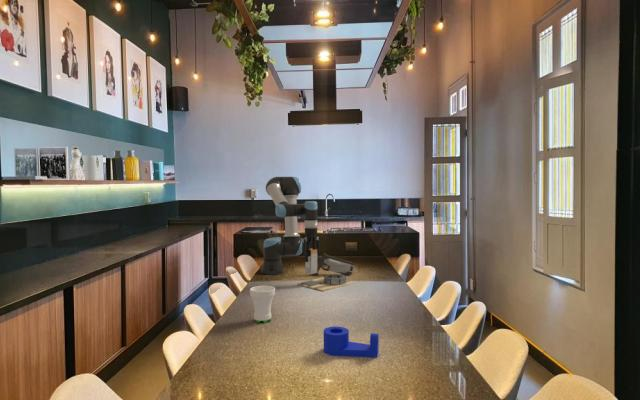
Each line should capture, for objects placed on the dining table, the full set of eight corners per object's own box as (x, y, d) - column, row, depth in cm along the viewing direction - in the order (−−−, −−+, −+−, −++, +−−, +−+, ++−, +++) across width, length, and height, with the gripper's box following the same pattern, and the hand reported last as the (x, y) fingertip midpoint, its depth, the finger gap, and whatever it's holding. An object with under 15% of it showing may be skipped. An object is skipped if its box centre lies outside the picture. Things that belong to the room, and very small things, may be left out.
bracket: (321, 355, 152) (321, 334, 151) (326, 345, 160) (326, 325, 160) (376, 360, 147) (376, 338, 147) (379, 350, 156) (379, 329, 155)
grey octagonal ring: (319, 282, 256) (319, 276, 256) (334, 278, 266) (334, 273, 265) (335, 286, 247) (335, 280, 247) (350, 282, 256) (350, 276, 256)
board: (296, 284, 254) (296, 283, 254) (327, 277, 272) (327, 276, 272) (323, 291, 238) (323, 290, 238) (353, 283, 256) (353, 282, 256)
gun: (349, 285, 278) (355, 263, 277) (308, 273, 278) (315, 251, 277) (348, 283, 283) (355, 261, 282) (308, 271, 283) (315, 250, 282)
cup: (254, 326, 181) (254, 293, 181) (246, 318, 191) (246, 287, 190) (279, 322, 186) (279, 289, 186) (270, 315, 196) (270, 284, 196)
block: (311, 274, 250) (311, 250, 249) (305, 272, 253) (305, 249, 253) (317, 272, 253) (317, 249, 253) (311, 271, 257) (311, 248, 256)
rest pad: (300, 283, 254) (300, 282, 254) (311, 280, 260) (311, 280, 260) (310, 286, 247) (310, 285, 247) (321, 283, 254) (321, 282, 254)
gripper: (304, 229, 243) (304, 269, 244) (326, 226, 256) (326, 265, 257) (295, 228, 248) (295, 267, 249) (317, 225, 261) (317, 263, 262)
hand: (311, 266), depth 253 cm, fingers closed on block, 5 cm apart
